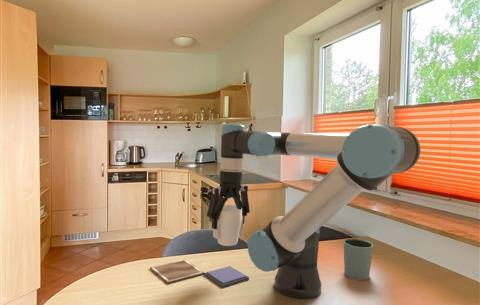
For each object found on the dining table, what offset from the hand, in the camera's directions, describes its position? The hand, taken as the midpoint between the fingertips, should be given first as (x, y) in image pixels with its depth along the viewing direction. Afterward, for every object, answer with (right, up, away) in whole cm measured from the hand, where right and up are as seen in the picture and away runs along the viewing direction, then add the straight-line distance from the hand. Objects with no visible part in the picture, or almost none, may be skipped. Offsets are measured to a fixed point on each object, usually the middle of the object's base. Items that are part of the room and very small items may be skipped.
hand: (227, 235), depth 113 cm
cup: (0, -3, 0) cm, 3 cm away
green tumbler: (+47, -16, +8) cm, 50 cm away
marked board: (-18, -13, +4) cm, 23 cm away
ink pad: (-1, -14, +1) cm, 15 cm away
